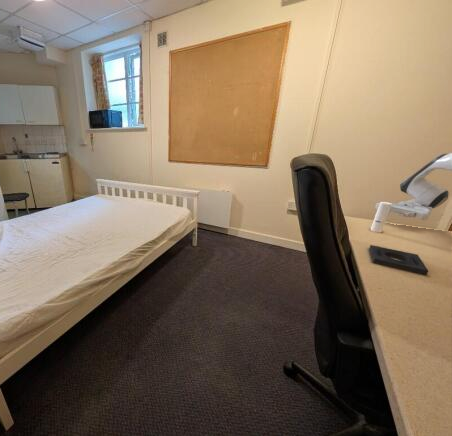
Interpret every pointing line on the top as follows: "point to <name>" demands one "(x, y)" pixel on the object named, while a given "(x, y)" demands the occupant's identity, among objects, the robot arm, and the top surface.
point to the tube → (381, 216)
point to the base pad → (408, 260)
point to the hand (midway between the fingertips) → (393, 211)
